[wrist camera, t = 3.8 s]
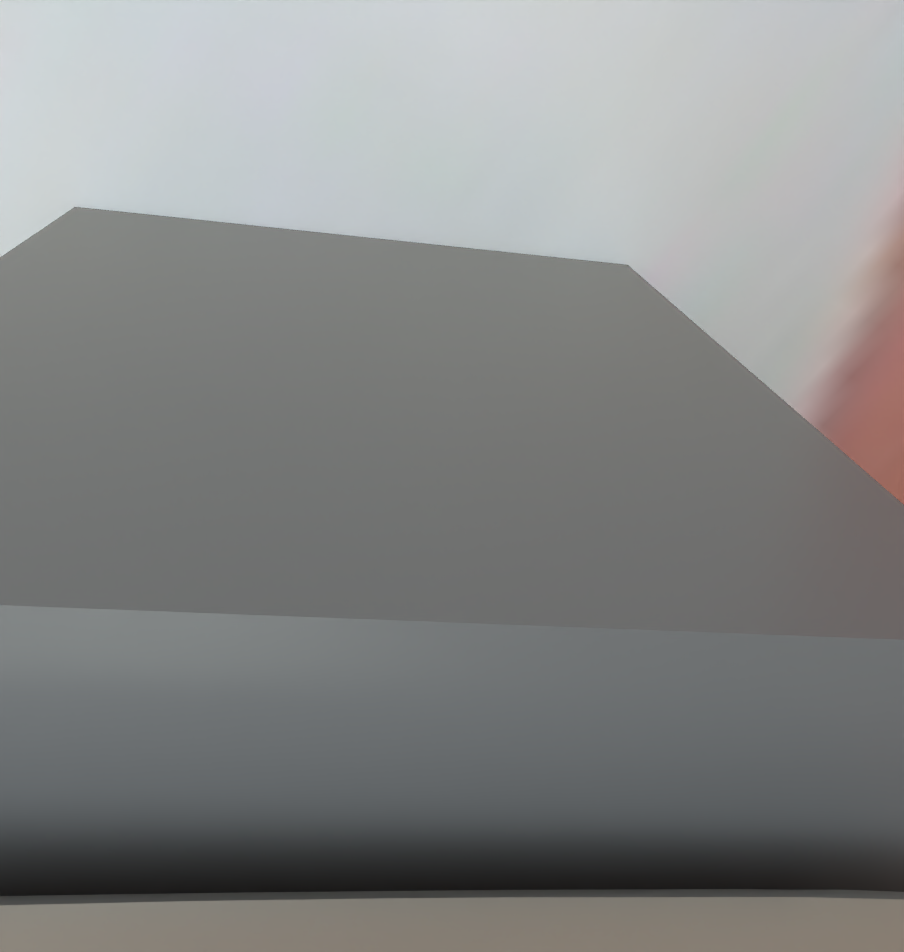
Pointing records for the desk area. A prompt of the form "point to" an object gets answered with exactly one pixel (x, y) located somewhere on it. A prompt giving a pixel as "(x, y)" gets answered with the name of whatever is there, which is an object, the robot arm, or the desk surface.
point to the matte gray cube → (422, 581)
